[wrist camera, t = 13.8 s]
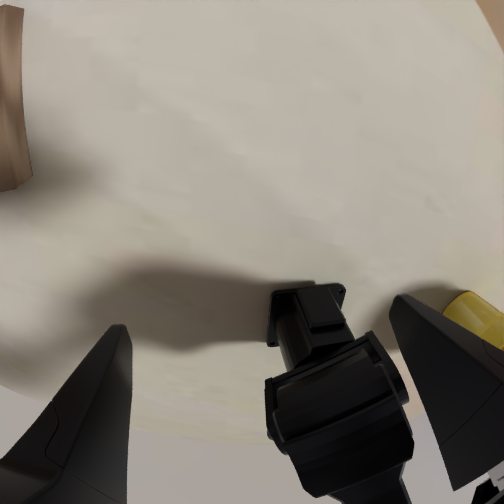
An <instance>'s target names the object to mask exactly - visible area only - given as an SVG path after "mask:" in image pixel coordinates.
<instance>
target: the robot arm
mask: <svg viewBox="0 0 504 504" xmlns="http://www.w3.org/2000/svg"><path fill="white" fill-rule="evenodd" d="M339 290H340V291H339ZM345 293H346V289H345V287H344V285H341V284H340V285H330V286H321V287H310V288H300V289H289V290H278V291H274V292H273V293H272V294H271V296H270V307H269V318H268V328H267V338H266V342H267V346H268V347H277V346H280V349H281V353H282V356H283V359H284V363H285V366H286V370H287V372H286V373H283V374H281V375H279V376H276V377H274V378H272V377H271V378H268V379H266V380H265V390H264V391H265V409H266V426H267V436H268V438H269V439H271V440H273V441H274V442H275V444H276V446H277V447H278V449H279V450H280V451H281V453H283V454H284V455H289V457H290V459H291V461H292V463H293V465H294V467H295V469H296V471H297V474H298V476H299V479H300V481H301V484H302V486H303V489H304V490H305V491H306V492H308V493H309V494H310V495H312V496H313V497H315V498H319V497H322V496H325V495H328V496H330V497H332V498H334V499H336V500H338V501H340V502H341V503H342V504H412V503H411V500H410V498H409V495H408V492H407V490H406V487H405V485H404V482H403V479H402V474H403V471H404V467H405V463H406V462H407V461H409V460H410V459H412V456H413V450H414V440H413V438H412V435H413V434H412V430H411V427H410V425H409V422H408V419H407V417H406V414H405V412H404V409H403V407H402V405H404V404H406V403H408V402H409V396H408V392H407V389H406V387H405V384H404V382H403V380H402V377H401V375H400V373H399V371H398V369H397V367H396V366H395V364H394V362H393V361H392V359H391V358H390V356H389V355H388V353H387V352H386V350H385V349H384V348H383V346H382V345H381V343H380V342H379V340H378V339H377V337H376V336H375V335H374V333H373V332H372V330H370V331H369V332H367V333H365V335H364V336H362V337H360V338H358V339H356V340H355V338H354V336H353V334H352V332H351V330H350V328H349V327H348V325H347V323H346V319H345V317H344V315H343V313H342V311H341V307H342V304H343V300H344V297H345ZM277 296H279V297H277ZM275 297H277V298H275ZM389 319H390V322H391V325H392V327H393V330H394V333H395V336H396V339H397V342H398V345H399V348H400V351H401V353H402V356H403V358H404V360H405V363H406V365H407V367H408V370H409V372H410V374H411V376H412V379H413V381H414V384H415V386H416V388H417V391H418V393H419V396H420V398H421V400H422V403H423V405H424V408H425V411H426V413H427V416H428V418H429V421H430V423H431V426H432V429H433V431H434V434H435V437H436V440H437V443H438V445H439V449H440V452H441V454H442V457H443V460H444V463H445V467H446V470H447V473H448V476H449V479H450V482H451V486H452V489H453V491H456V490H458V489H460V488H461V487H463V486H465V485H467V484H468V483H470V482H472V481H473V480H475V479H477V478H478V477H480V476H481V475H483V474H485V473H486V472H488V474H489V476H490V477H489V478H488V479H487V480H485V481H484V482H483V483H481V484H480V485H479V486H477V487H476V490H475V494H474V497H473V500H472V503H471V504H504V351H503V350H501V349H499V348H497V347H496V346H494V345H492V344H491V343H489V342H487V341H486V340H484V339H481V337H479V336H477V335H476V334H474V333H472V332H471V331H469V330H468V329H466V328H464V327H463V326H461V325H459V324H458V323H456V322H454V321H452V320H451V319H449V318H447V317H446V316H444V315H442V314H441V313H439V312H437V311H435V310H434V309H432V308H430V307H429V306H427V305H425V304H423V303H422V302H420V301H418V300H416V299H415V298H413V297H411V296H409V295H408V294H400V295H397V296H396V297H395V298H394V301H393V303H392V306H391V309H390V311H389ZM131 402H132V342H131V339H130V336H129V334H128V331H127V328H126V326H125V325H124V324H114V325H111V326H110V328H109V329H108V330H107V331H106V332H105V333H104V335H103V336H102V337H101V338H100V339H99V341H98V342H97V343H96V344H95V346H94V347H93V348H92V349H91V350H90V352H89V353H88V354H87V355H86V357H85V358H84V359H83V360H82V362H81V363H80V364H79V365H78V367H77V368H76V369H75V370H74V372H73V373H72V374H71V375H70V377H69V378H68V379H67V381H66V382H65V383H64V384H63V386H62V387H61V388H60V390H59V391H58V392H57V394H56V395H55V396H54V397H53V399H52V401H50V403H49V404H48V405H47V407H46V408H45V409H44V411H43V412H42V413H41V414H40V416H39V417H38V418H37V420H36V421H35V422H34V423H33V424H32V425H31V427H30V428H29V429H28V430H27V431H26V432H25V433H24V435H23V436H22V437H21V438H20V439H19V440H18V441H17V442H16V443H15V445H14V446H13V447H12V448H11V449H10V450H9V452H8V453H7V454H6V455H5V456H4V457H3V458H1V459H0V504H127V459H128V440H129V425H130V413H131Z"/></svg>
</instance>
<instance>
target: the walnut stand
mask: <svg viewBox="0 0 504 504" xmlns="http://www.w3.org/2000/svg"><path fill="white" fill-rule="evenodd" d="M23 15H24V9H22V8H18V7H14V6H10V5H6V4H4V5H2V6H0V192H3V191H8V190H13V189H16V188H17V187H18V186H20V185H21V184H22V183H23V182H25V181H26V180H27V179H29V178H30V177H31V176H33V174H32V169H31V164H30V158H29V152H28V145H27V138H26V130H25V121H24V110H23V97H22V74H21V50H22V27H23Z"/></svg>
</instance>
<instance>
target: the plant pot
mask: <svg viewBox="0 0 504 504" xmlns="http://www.w3.org/2000/svg"><path fill="white" fill-rule="evenodd" d="M442 315H444V316H446V317H447V318H449V319H451V320H452V321H454V322H456V323H458V324H459V325H461V326H463V327H464V328H466V329H468V330H469V331H471V332H472V333H474V334H476V335H477V336H479V337H481V339H484V340H486V341H487V342H489V343H491V344H492V345H494V346H496V347H497V348H499V349H501V350H503V351H504V314H503V313H502V312H500V311H499V310H498V309H496V308H495V307H494V306H492V305H491V304H489V303H488V302H487V301H485V300H484V299H483V298H481V297H480V296H478V295H477V294H476V293H474V292H471V291H469V292H465V293H463V294H461V295H459V296H458V297H457V298H455V299H454V300H453V301H452V302H451V303H450V304H449V305H448V306H447V307H446V309H445V310H444V312H443V313H442Z"/></svg>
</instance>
